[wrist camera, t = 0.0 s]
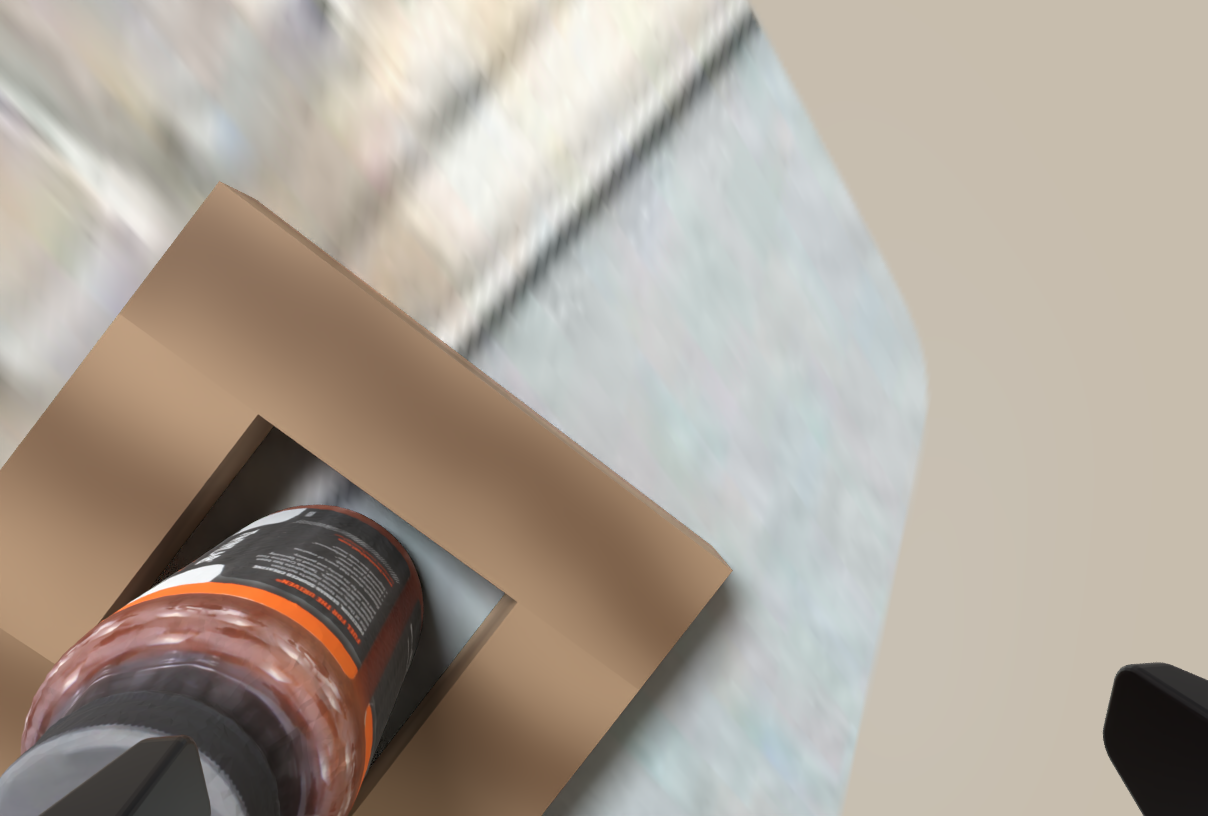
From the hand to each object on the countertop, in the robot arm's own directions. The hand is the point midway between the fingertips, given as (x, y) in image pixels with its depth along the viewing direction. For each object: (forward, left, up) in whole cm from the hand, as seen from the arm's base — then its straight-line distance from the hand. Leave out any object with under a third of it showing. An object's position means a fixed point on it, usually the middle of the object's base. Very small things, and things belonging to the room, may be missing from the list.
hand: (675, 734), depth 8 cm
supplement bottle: (-7, +4, -16) cm, 18 cm away
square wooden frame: (-7, +4, -15) cm, 18 cm away
